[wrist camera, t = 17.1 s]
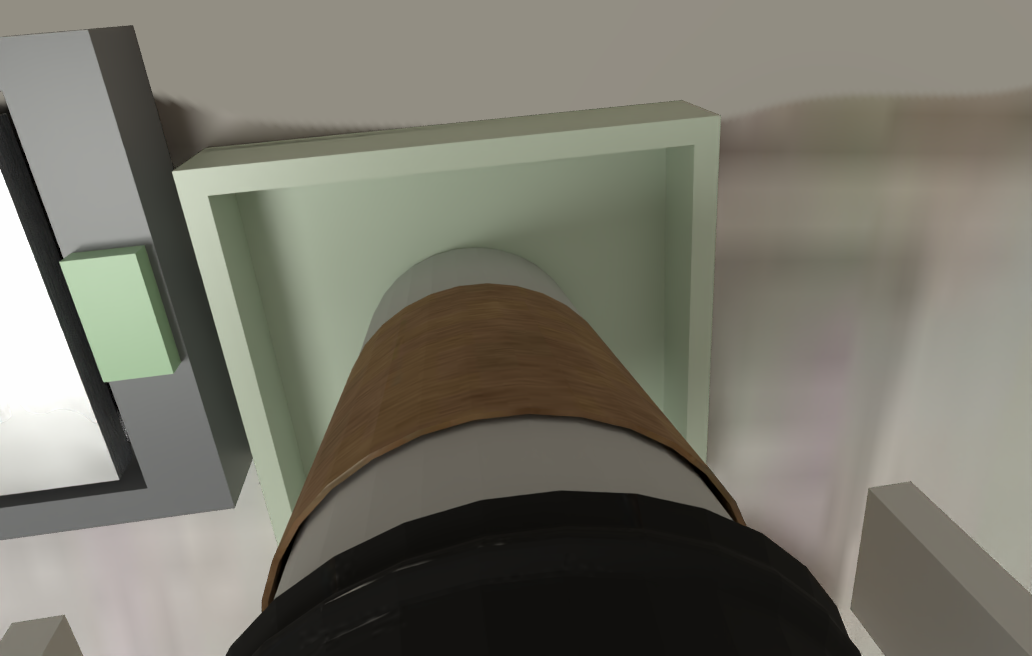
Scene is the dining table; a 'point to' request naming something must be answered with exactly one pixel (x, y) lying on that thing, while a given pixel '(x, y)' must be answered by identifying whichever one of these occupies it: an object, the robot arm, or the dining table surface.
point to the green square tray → (446, 226)
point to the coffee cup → (518, 499)
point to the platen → (45, 355)
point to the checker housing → (124, 282)
